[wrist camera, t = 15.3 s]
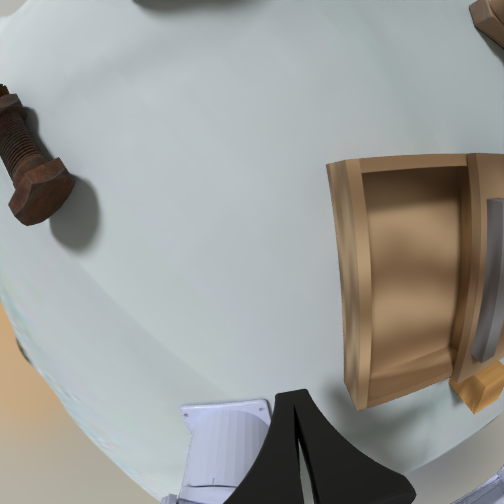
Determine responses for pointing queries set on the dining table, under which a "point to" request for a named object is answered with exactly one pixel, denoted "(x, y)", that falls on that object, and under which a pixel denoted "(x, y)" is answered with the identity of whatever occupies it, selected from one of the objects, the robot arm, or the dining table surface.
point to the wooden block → (489, 18)
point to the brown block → (481, 387)
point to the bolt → (29, 166)
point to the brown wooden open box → (401, 270)
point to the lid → (484, 269)
